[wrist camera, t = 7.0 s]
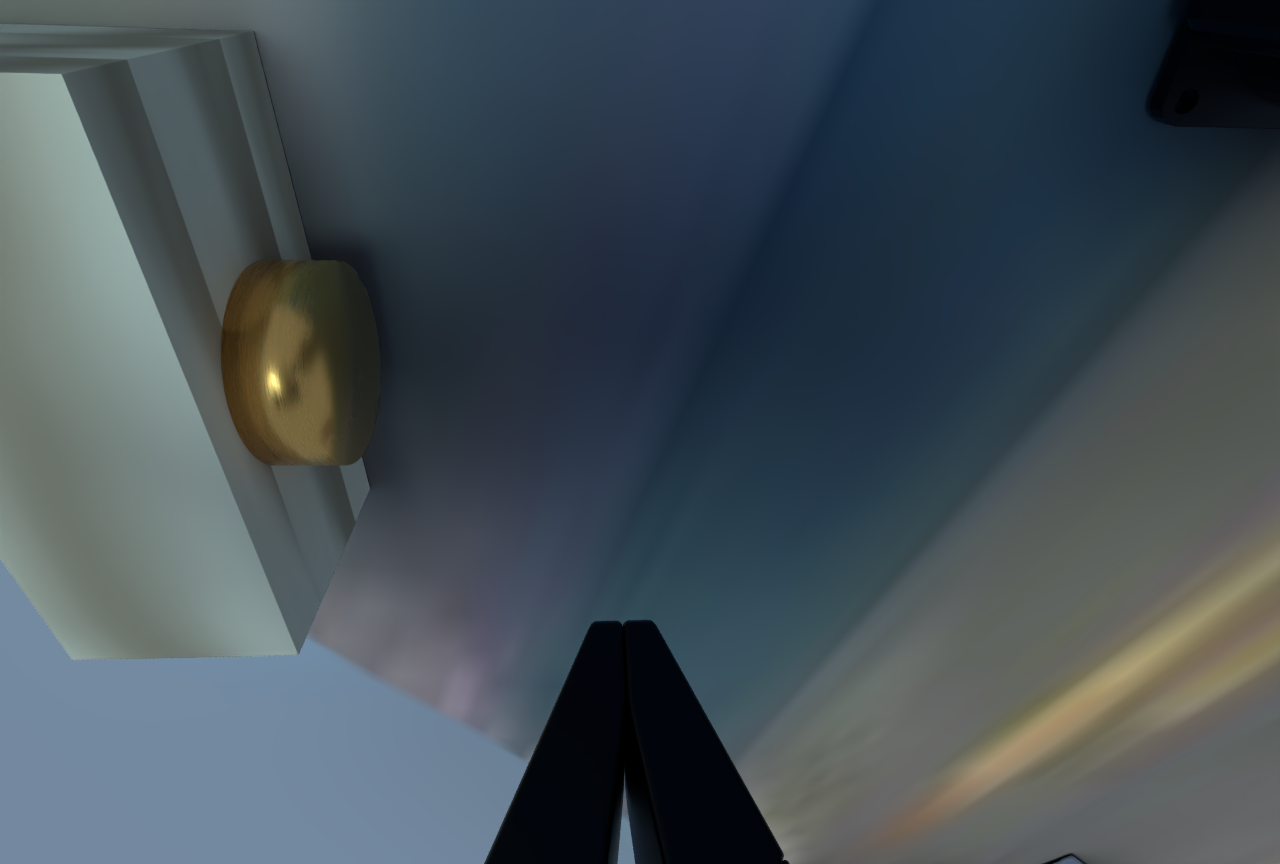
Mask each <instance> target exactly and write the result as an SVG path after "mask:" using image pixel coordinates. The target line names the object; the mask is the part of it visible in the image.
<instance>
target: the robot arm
mask: <svg viewBox="0 0 1280 864" xmlns="http://www.w3.org/2000/svg"><path fill="white" fill-rule="evenodd" d="M1185 90H1186V96H1185V99H1184V101H1183V102H1182V104H1181V105H1180V106H1179V107H1177V108H1176V109H1175V110H1174V104H1175V101H1176V99H1177V98H1178V96H1179V95H1180V94H1181V93H1183V92H1184V91H1185ZM1150 110H1151V116H1152V117H1153V118H1154V119H1155V120H1156V121H1159V122H1162V123H1165V124H1169V125H1172V126H1180V127H1221V128H1263V129H1280V0H1193V1H1192V3H1191V5H1190V8H1189V10H1188V13H1187V17H1186V19H1185V21H1184V24H1183V26H1182V29H1181V31H1180V33H1179V36H1178V38H1177V40H1176V43H1175V45H1174V48H1173V50H1172V52H1171V55H1170V57H1169V59H1168V62H1167V64H1166V67H1165V69H1164V71H1163V74H1162V76H1161V79H1160V81H1159V83H1158V86H1157V88H1156V90H1155V93H1154V95H1153V98H1152V101H1151V105H1150ZM624 774H625V790H626V799H627V807H628V815H629V822H630V829H631V836H632V843H633V850H634V857H635V864H789V862H788V861H787V860H783V857H784V854H783V852H782V850H781V848H780V846H779V844H778V843H777V841H776V839H775V837H774V836H773V834H772V832H771V830H770V828H769V827H768V825H767V823H766V821H765V819H764V818H763V816H762V814H761V812H760V810H759V809H758V807H757V805H756V803H755V801H754V800H753V798H752V796H751V794H750V792H749V791H748V789H747V787H746V785H745V784H744V782H743V780H742V778H741V776H740V775H739V773H738V771H737V769H736V767H735V766H734V764H733V762H732V760H731V758H730V757H729V755H728V753H727V751H726V749H725V748H724V746H723V744H722V742H721V740H720V739H719V737H718V735H717V733H716V732H715V730H714V728H713V726H712V724H711V723H710V721H709V719H708V717H707V715H706V714H705V712H704V710H703V708H702V706H701V705H700V703H699V701H698V699H697V697H696V696H695V694H694V692H693V690H692V688H691V687H690V685H689V683H688V681H687V680H686V678H685V676H684V674H683V672H682V671H681V669H680V667H679V665H678V663H677V662H676V660H675V658H674V656H673V654H672V653H671V651H670V649H669V647H668V645H667V644H666V642H665V640H664V638H663V636H662V635H661V633H660V631H659V629H658V628H657V626H656V624H655V623H654V622H653V621H651V620H628V621H626V622H624V624H623V626H622V624H621V622H619V621H595V622H593V623H592V624H591V625H590V627H589V629H588V631H587V634H586V636H585V638H584V640H583V643H582V645H581V647H580V649H579V652H578V654H577V656H576V658H575V661H574V663H573V665H572V667H571V670H570V672H569V674H568V676H567V679H566V681H565V683H564V685H563V688H562V690H561V692H560V694H559V697H558V699H557V701H556V703H555V706H554V708H553V710H552V712H551V715H550V717H549V719H548V721H547V724H546V726H545V728H544V730H543V733H542V735H541V737H540V739H539V742H538V744H537V746H536V748H535V751H534V753H533V755H532V757H531V760H530V762H529V764H528V766H527V769H526V771H525V773H524V776H523V778H522V780H521V782H520V784H519V787H518V789H517V791H516V793H515V796H514V798H513V800H512V802H511V805H510V807H509V809H508V811H507V814H506V816H505V818H504V820H503V823H502V825H501V827H500V830H499V832H498V834H497V836H496V839H495V841H494V843H493V845H492V847H491V850H490V852H489V854H488V856H487V859H486V861H485V863H484V864H617V862H618V850H619V840H620V828H621V818H622V807H623V791H624ZM782 860H783V861H782Z"/></svg>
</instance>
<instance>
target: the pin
mask: <svg viewBox="0 0 1280 864" xmlns="http://www.w3.org/2000/svg"><path fill="white" fill-rule="evenodd" d="M221 369H222V379H223V386H224V392H225V397H226V401H227V405H228V409H229V412H230V415H231V418H232V421H233V423H234V426H235V428H236V430H237V433H238V434H239V436H240V438H241V440H242V442H243V443H244V445H245V446H246V447H247V449H248V450H249V451H250V452H251V453H252V454H253V455H254V456H255V457H256V458H257V459H258V460H260V461H261V462H263V463H265V464H268V465H273V466H339V465H352V464H353V463H355V462H357V461H358V460H359V459H360V458H361V457H362V455H363V454H364V453H365V451H366V449H367V447H368V445H369V443H370V440H371V438H372V434H373V431H374V428H375V424H376V419H377V414H378V407H379V399H380V384H381V363H380V348H379V339H378V332H377V326H376V321H375V316H374V312H373V308H372V305H371V302H370V299H369V296H368V293H367V290H366V288H365V286H364V284H363V282H362V280H361V278H360V277H359V275H358V274H357V272H356V271H355V270H354V269H353V268H352V267H351V266H350V265H349V264H348V263H346V262H344V261H340V260H259V261H256V262H253V263H252V264H250V265H249V266H248V267H246V268H245V270H244V271H243V272H242V273H241V274H240V276H239V277H238V279H237V280H236V282H235V284H234V286H233V288H232V290H231V293H230V296H229V299H228V302H227V305H226V309H225V314H224V319H223V326H222V334H221Z"/></svg>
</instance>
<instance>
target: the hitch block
mask: <svg viewBox="0 0 1280 864" xmlns="http://www.w3.org/2000/svg"><path fill="white" fill-rule="evenodd" d="M259 260H312V259H311V255H310V251H309V248H308V244H307V240H306V236H305V232H304V228H303V224H302V220H301V216H300V212H299V208H298V204H297V201H296V197H295V193H294V189H293V185H292V181H291V177H290V173H289V169H288V165H287V161H286V157H285V153H284V150H283V146H282V142H281V138H280V134H279V130H278V126H277V122H276V118H275V114H274V110H273V106H272V103H271V99H270V95H269V91H268V87H267V83H266V79H265V75H264V71H263V67H262V63H261V59H260V55H259V52H258V48H257V44H256V40H255V36H254V32H253V31H227V30H194V29H160V28H127V27H94V26H60V25H27V24H0V559H1V561H2V562H3V564H4V565H5V567H6V568H7V569H8V571H9V572H10V573H11V575H12V576H13V577H14V579H15V581H16V582H17V583H18V585H19V586H20V587H21V589H22V590H23V592H24V593H25V595H26V596H27V597H28V599H29V600H30V601H31V603H32V604H33V606H34V607H35V609H36V610H37V611H38V613H39V614H40V616H41V617H42V618H43V620H44V621H45V622H46V624H47V625H48V627H49V628H50V630H51V631H52V632H53V634H54V635H55V636H56V638H57V639H58V641H59V642H60V644H61V645H62V646H63V648H64V649H65V651H66V652H67V653H68V655H69V656H70V658H71V659H72V660H96V659H97V660H98V659H144V658H145V659H147V658H196V657H242V656H292V655H299V653H300V650H301V648H302V646H303V643H304V641H305V639H306V636H307V634H308V632H309V629H310V627H311V625H312V622H313V620H314V618H315V616H316V613H317V611H318V609H319V606H320V604H321V602H322V599H323V597H324V595H325V592H326V590H327V588H328V585H329V583H330V581H331V578H332V576H333V574H334V571H335V569H336V567H337V564H338V562H339V560H340V557H341V555H342V553H343V550H344V548H345V546H346V543H347V541H348V539H349V536H350V534H351V532H352V530H353V527H354V525H355V523H356V520H357V518H358V516H359V513H360V511H361V509H362V506H363V504H364V502H365V499H366V497H367V495H368V492H369V490H370V487H369V483H368V479H367V475H366V471H365V467H364V463H363V459H362V457H361V458H360V459H359V460H358V461H357V462H355V463H353V464H352V465H339V466H273V465H268V464H265V463H263V462H261V461H260V460H258V459H257V458H256V457H255V456H254V455H253V454H252V453H251V452H250V451H249V450H248V449H247V447H246V446H245V445H244V443H243V442H242V440H241V438H240V436H239V434H238V433H237V430H236V428H235V426H234V423H233V421H232V418H231V415H230V412H229V409H228V405H227V401H226V397H225V392H224V386H223V379H222V369H221V334H222V326H223V319H224V314H225V309H226V305H227V302H228V299H229V296H230V293H231V290H232V288H233V286H234V284H235V282H236V280H237V279H238V277H239V276H240V274H241V273H242V272H243V271H244V270H245V268H246V267H248V266H249V265H250V264H252V263H253V262H256V261H259Z"/></svg>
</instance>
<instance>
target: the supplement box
mask: <svg viewBox="0 0 1280 864" xmlns="http://www.w3.org/2000/svg"><path fill="white" fill-rule="evenodd" d="M1053 864H1083V863H1082V862H1080V861H1079V860H1078V859H1076V858H1075V857H1073V856H1068V857H1065V858H1063V859H1061V860H1060V861H1058V862H1056V863H1053Z"/></svg>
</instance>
